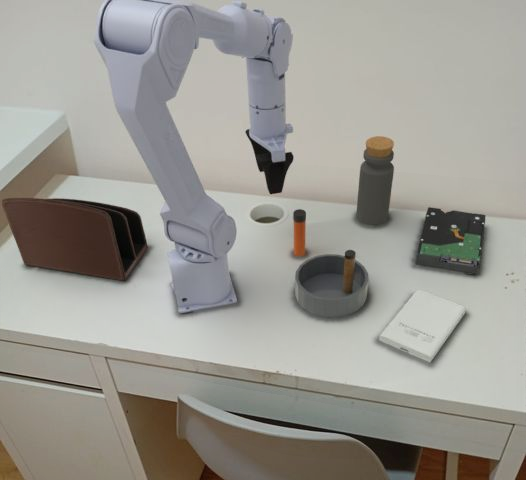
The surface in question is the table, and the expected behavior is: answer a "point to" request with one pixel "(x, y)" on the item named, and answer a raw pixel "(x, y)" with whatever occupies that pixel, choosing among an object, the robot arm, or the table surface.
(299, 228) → the marker
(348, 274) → the brown slender rod
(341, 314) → the pot
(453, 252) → the disk drive
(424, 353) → the hard drive
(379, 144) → the bottle
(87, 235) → the letter holder
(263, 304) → the table surface
